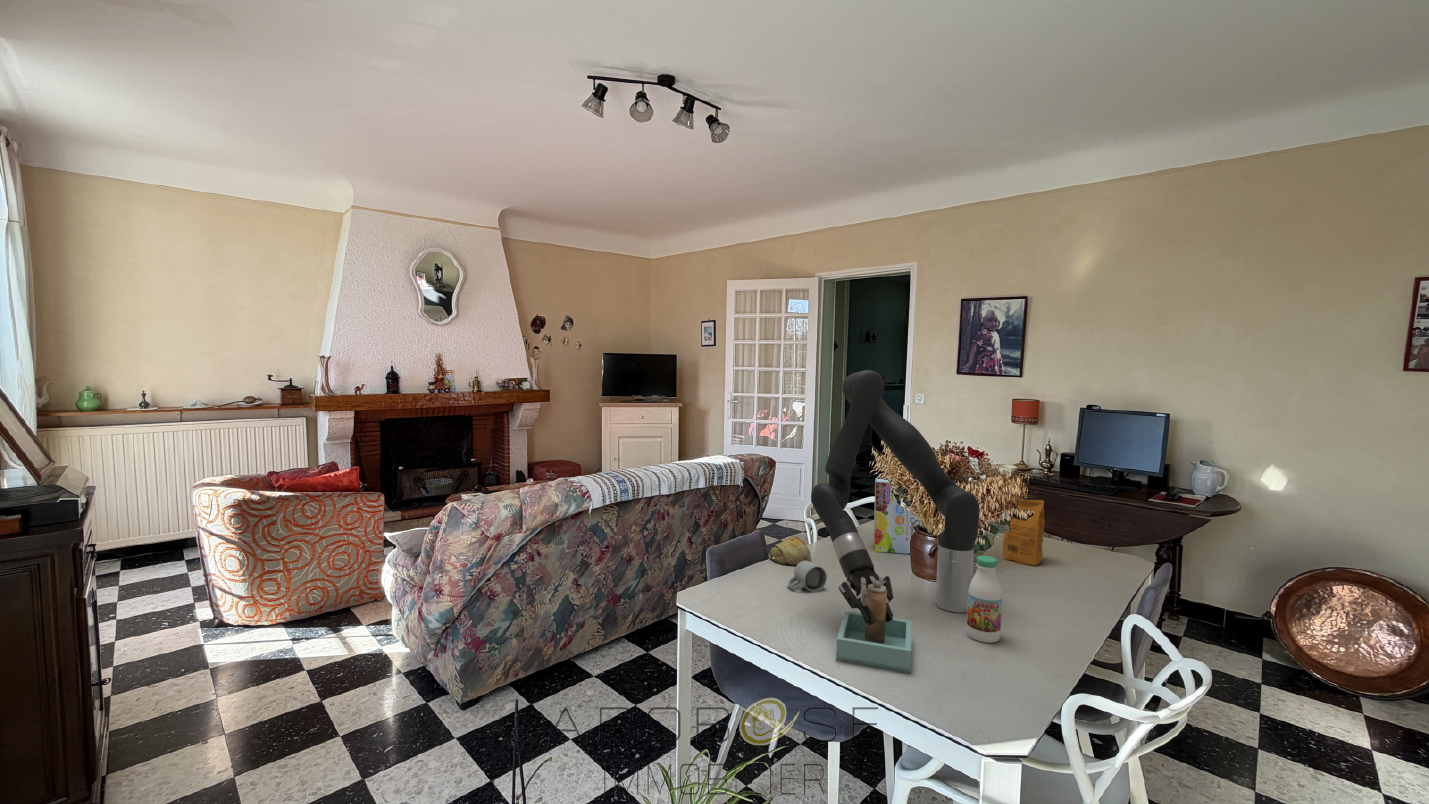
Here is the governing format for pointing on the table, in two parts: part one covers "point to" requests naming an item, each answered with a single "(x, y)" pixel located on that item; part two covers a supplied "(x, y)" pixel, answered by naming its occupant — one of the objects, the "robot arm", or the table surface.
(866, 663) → the bin
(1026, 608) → the table surface
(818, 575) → the ceramic mug
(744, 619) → the table surface
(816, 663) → the table surface
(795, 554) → the pastry
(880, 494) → the snack box
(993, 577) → the milk bottle
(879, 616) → the pepper mill
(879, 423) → the robot arm
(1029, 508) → the coffee package
